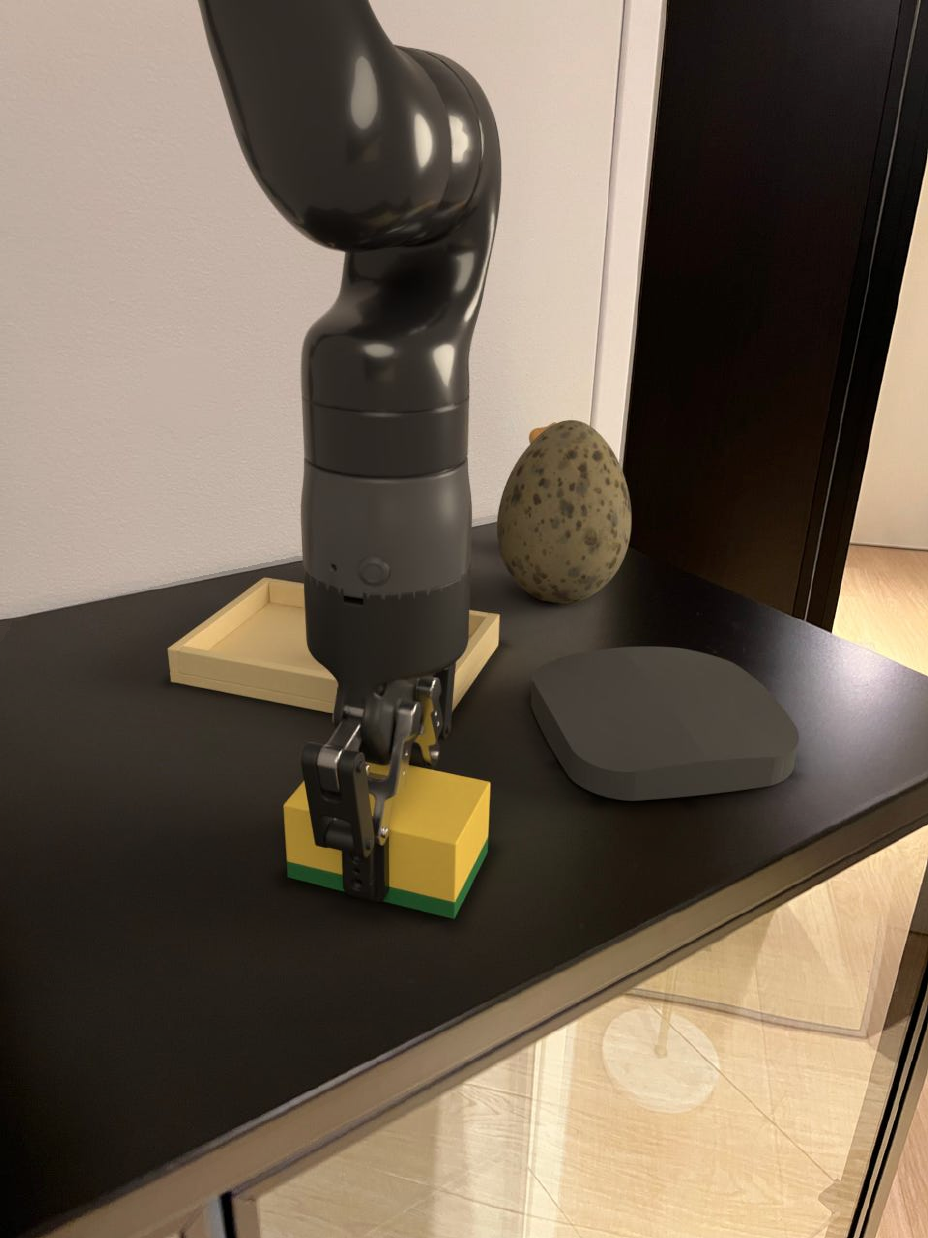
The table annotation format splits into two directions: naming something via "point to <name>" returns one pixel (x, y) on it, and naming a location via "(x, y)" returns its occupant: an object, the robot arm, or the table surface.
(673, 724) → the media streaming box
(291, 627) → the tray
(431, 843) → the sponge
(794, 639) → the table surface
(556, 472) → the decorative egg
